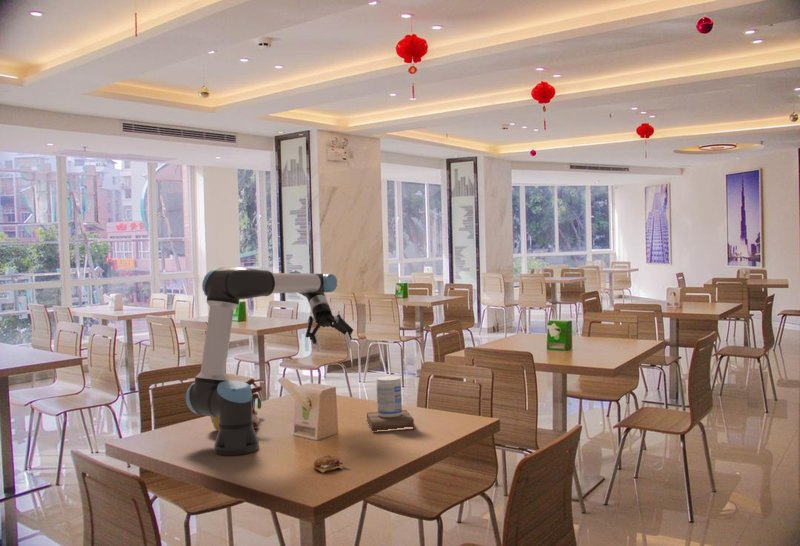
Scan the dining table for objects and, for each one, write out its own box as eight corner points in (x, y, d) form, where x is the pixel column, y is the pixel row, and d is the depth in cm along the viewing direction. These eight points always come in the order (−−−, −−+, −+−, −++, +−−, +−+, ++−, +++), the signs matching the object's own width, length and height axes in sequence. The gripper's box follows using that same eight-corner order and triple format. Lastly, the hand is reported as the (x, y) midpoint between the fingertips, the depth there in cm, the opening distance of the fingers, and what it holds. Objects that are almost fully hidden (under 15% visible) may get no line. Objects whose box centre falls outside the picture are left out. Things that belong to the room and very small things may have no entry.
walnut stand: (413, 429, 262) (413, 419, 262) (372, 432, 260) (371, 421, 260) (406, 419, 278) (406, 409, 278) (367, 422, 276) (366, 412, 276)
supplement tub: (401, 418, 264) (400, 380, 264) (376, 418, 265) (375, 380, 264) (402, 412, 274) (401, 375, 273) (378, 412, 274) (377, 376, 274)
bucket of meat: (207, 414, 278) (254, 398, 287) (220, 447, 269) (269, 429, 277) (203, 384, 264) (253, 368, 273) (217, 418, 255) (268, 400, 263)
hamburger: (320, 479, 208) (320, 460, 208) (304, 467, 221) (304, 449, 221) (363, 471, 215) (362, 452, 215) (345, 460, 227) (344, 442, 227)
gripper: (345, 312, 298) (360, 351, 285) (290, 316, 286) (303, 356, 273) (350, 301, 293) (366, 339, 280) (294, 303, 281) (308, 344, 268)
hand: (335, 348), depth 277 cm, fingers open, 13 cm apart
